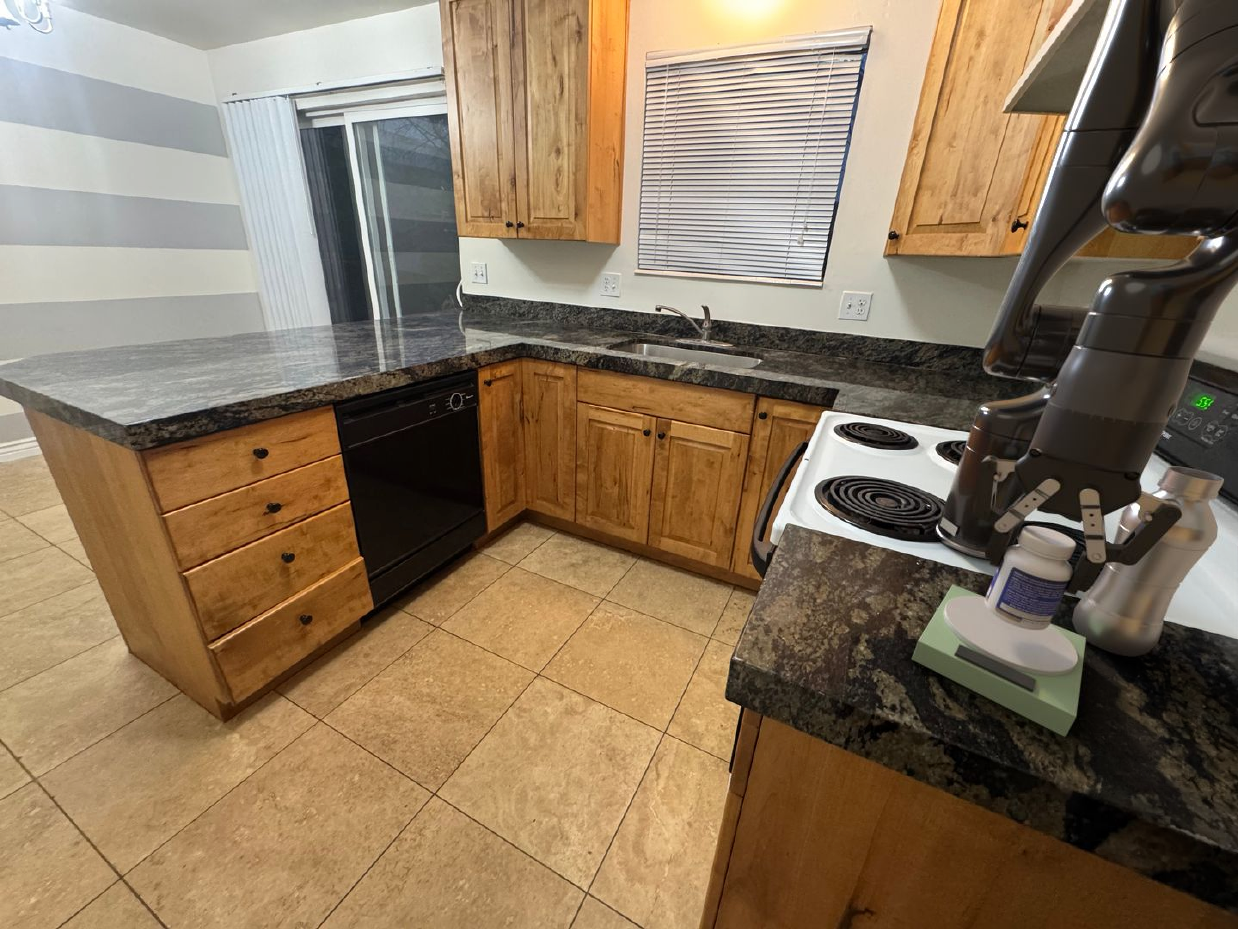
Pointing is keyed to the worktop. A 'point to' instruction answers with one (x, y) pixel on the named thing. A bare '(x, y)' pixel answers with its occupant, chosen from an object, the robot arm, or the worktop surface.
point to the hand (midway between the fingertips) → (1031, 575)
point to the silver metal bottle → (1150, 569)
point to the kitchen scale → (1005, 659)
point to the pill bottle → (1031, 578)
